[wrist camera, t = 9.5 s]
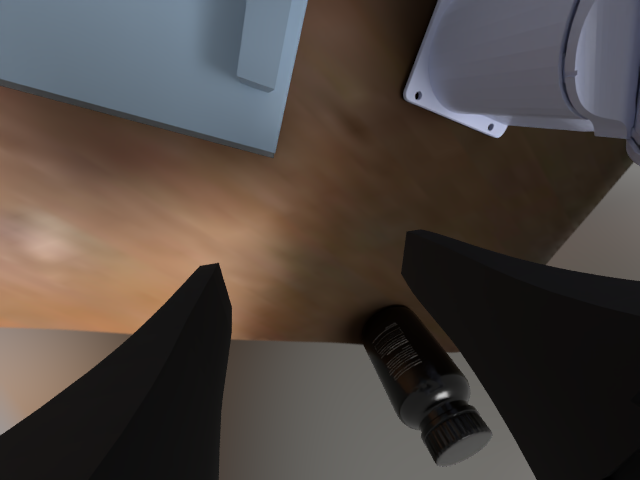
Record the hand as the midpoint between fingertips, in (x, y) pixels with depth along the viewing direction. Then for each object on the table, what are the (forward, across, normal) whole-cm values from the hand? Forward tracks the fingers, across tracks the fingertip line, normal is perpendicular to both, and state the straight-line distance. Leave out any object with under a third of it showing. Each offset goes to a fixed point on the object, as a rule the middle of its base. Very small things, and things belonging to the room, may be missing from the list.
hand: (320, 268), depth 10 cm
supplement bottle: (+11, -10, +17) cm, 23 cm away
